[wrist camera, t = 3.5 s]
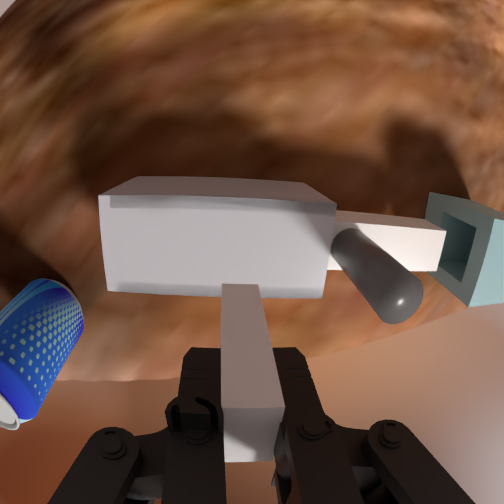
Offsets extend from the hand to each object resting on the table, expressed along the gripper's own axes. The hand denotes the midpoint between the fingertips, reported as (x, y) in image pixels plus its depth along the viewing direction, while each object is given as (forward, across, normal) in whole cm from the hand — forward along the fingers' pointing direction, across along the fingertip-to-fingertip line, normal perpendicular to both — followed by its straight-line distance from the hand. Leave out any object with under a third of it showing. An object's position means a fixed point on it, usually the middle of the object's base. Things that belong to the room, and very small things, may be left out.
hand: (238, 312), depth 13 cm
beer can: (+16, -20, -10) cm, 27 cm away
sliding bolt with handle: (+12, +5, 0) cm, 13 cm away
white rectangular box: (+15, -1, 0) cm, 15 cm away
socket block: (+15, +24, 0) cm, 28 cm away
